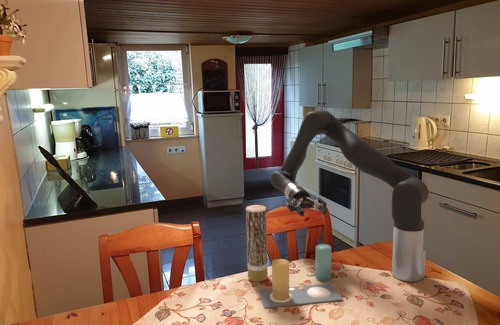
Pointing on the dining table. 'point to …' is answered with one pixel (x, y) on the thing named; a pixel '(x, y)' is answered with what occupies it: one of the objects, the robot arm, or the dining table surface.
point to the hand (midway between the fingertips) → (314, 213)
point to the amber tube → (280, 279)
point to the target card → (302, 295)
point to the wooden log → (256, 242)
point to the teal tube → (323, 262)
